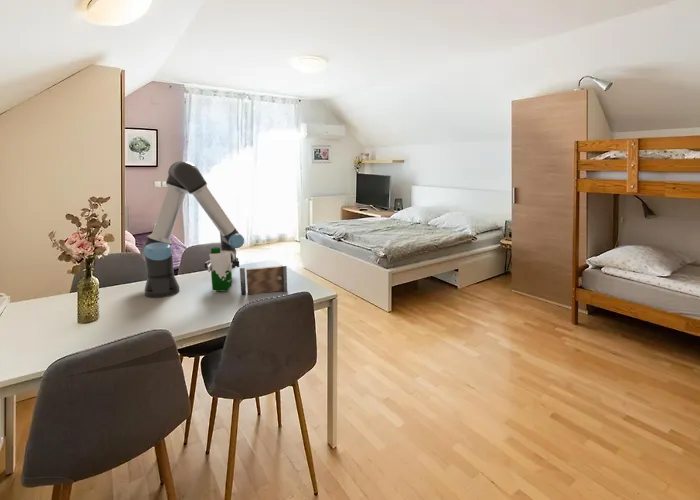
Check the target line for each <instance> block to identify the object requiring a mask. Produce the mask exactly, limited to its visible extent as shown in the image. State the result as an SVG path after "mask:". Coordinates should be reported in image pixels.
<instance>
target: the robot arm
mask: <svg viewBox="0 0 700 500" xmlns="http://www.w3.org/2000/svg"><path fill="white" fill-rule="evenodd" d="M168 168H169V169H168V172H167V173H168V176H167V179H166V182H165V185H166V187H167V189H166V193H165V195H164V198H163V200H162V204H161V206H160V210H159V213H158V216H157V218H156V222H155V225H154V227H153V230H152V232H151V233H150V234H149V235H147V236H146V241H145V242H144V244H143V245H142V247H141V249H140V255H141V258H142V260H143V261H144V263H145V269H146V279H147V280H146V283H145V286H144V296H145V297H148V298H164V297H170V296H173V295H176V294H178V293H179V292H180V285H179V283H178V280H177V279H176V276H175V273H174V269H175V268H174V262H173V261H174V260H173V250H172V244H173V242H172V240H171V237H172V235H173V232H174V229H175V226H176V223H177V220H178V218H179V215H180V214H179V213H180V212H181V208H182V205H183V203H184V201H185V200H184V199H185V197H186V195H187V194H190V195H192V196H193V197H194V198H195V200H196V201H197V203H198V204H199V205H200V206H201V208H202V209H203V211H204V212H205V214H206V215H207V216H208V217H209V219H210V220H211V221H212V223H213V225H214V226H215V227H216V228H217V230H218V231H219V235H220V236H219V237H220V251H231V264H230V266H229V269H230V271H231V272H232V271H233V269H235V268H240V261H239V258H238V257H236V256H237V249H240V248H242V247H243V245H244V244H245V238H244V236H243V235H242V234H241V233H240V232H239V231H238V230H237V229H236V227H235V225H234V224H233V223H232V221H231V219H230V218H229V217H228V215H227V214H226V212H225V211H224V209H223V208H222V206H221V205H220V203H218V201H217V199H216V198H215V197H214V195H213V193H212V191H210V190H209V187H208V186H207V185H208V183H207V181H206V179H205V178H204V177H203V175H202V173H201V171H200V170H199V168H198V167H197V166H196V165H195V164H194V163H192V162H190V161H182V160H181V161H179V160H178V161H175V162H174V163H173V164H171V165H170V166H169V167H168ZM203 265H204V269H207V272H208V273H211V262H210V259H209V260H207V261H205V262H204V264H203Z"/></svg>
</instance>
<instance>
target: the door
mask: <svg viewBox="0 0 700 500" xmlns="http://www.w3.org/2000/svg"><path fill="white" fill-rule="evenodd" d="M246 285H247V286H246V287H247V288H246V291H247V295H255V294H263V293H272V292H281V291H283V266H282V265H275V266H264V267H263V266H262V267H252V268H246Z"/></svg>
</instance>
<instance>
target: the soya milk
mask: <svg viewBox="0 0 700 500" xmlns="http://www.w3.org/2000/svg"><path fill="white" fill-rule="evenodd" d="M210 251H211V252H210V253H209V260H210V262H211V271H210V273H211V274H210V275H211V288H212V291H217V292H218V291H223V292H224V291H226V292H228V291H229V290H230V289H231V287H232V281H233V280H232V279H233V276H232V273H233V272H232V271H230V269H229V266H230V264H231V251H221V247H211V249H210Z"/></svg>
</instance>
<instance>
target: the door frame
mask: <svg viewBox="0 0 700 500" xmlns="http://www.w3.org/2000/svg"><path fill="white" fill-rule="evenodd" d="M281 266H283V290H282V291H283V293H288V272H287V271H288V270H287V269H288V268H287V265H286V264H284V265H281ZM239 278H240V279H239V280H240V295H241V296H246V295H247V288H246V287H247V286H246V285H247V283H246V272H245V267H239Z"/></svg>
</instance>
